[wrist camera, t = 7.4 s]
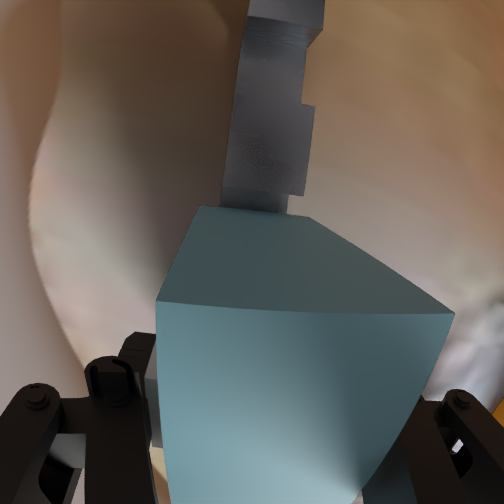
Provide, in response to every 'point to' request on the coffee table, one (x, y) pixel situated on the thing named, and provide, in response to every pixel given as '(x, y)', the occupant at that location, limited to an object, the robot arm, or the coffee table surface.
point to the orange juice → (499, 413)
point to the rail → (271, 107)
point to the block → (285, 360)
